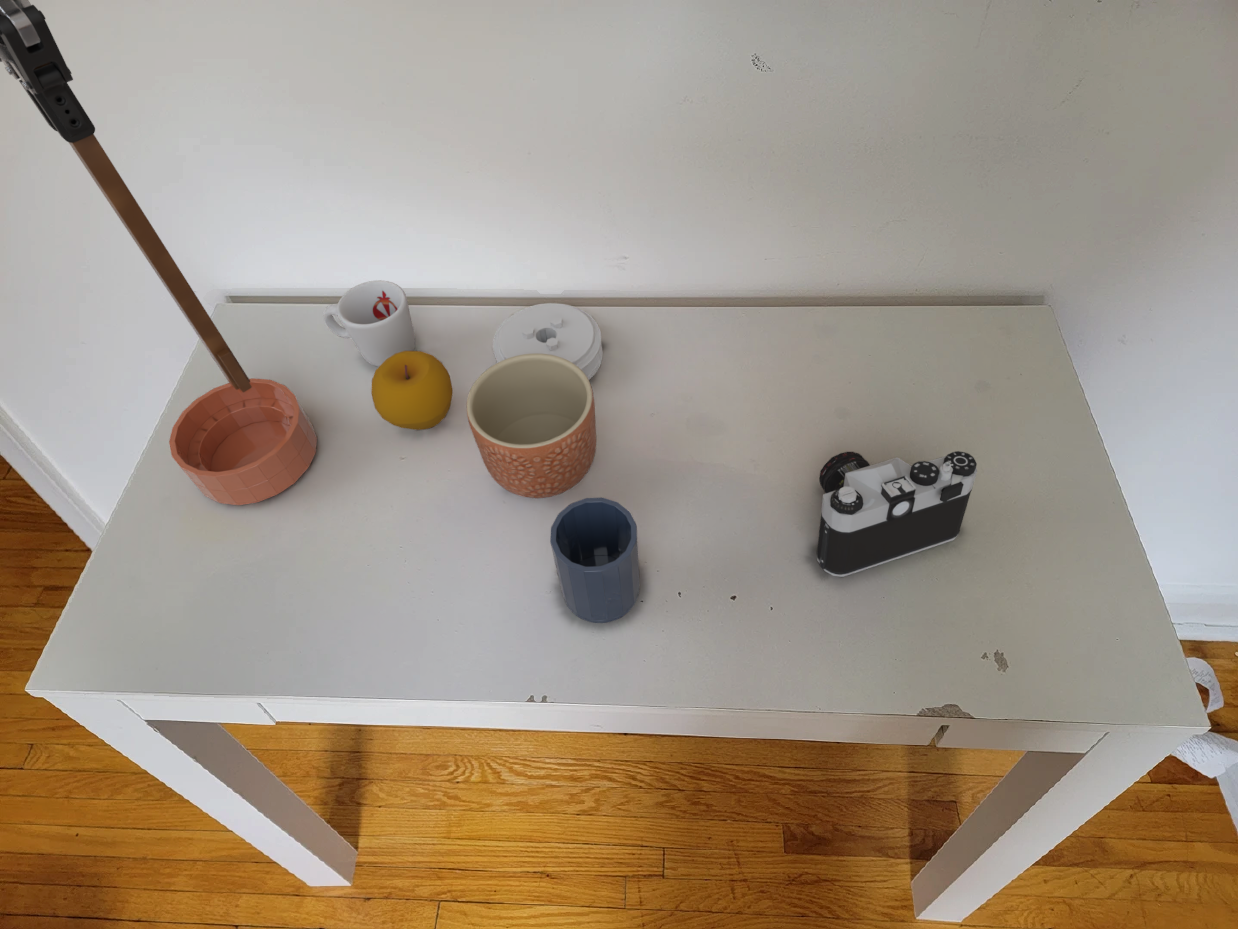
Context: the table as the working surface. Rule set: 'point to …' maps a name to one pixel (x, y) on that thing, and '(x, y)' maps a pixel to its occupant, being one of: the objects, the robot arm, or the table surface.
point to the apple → (412, 390)
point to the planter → (534, 424)
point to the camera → (889, 508)
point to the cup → (374, 320)
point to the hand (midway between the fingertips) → (74, 130)
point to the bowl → (244, 442)
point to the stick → (158, 256)
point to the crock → (596, 559)
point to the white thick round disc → (551, 335)
